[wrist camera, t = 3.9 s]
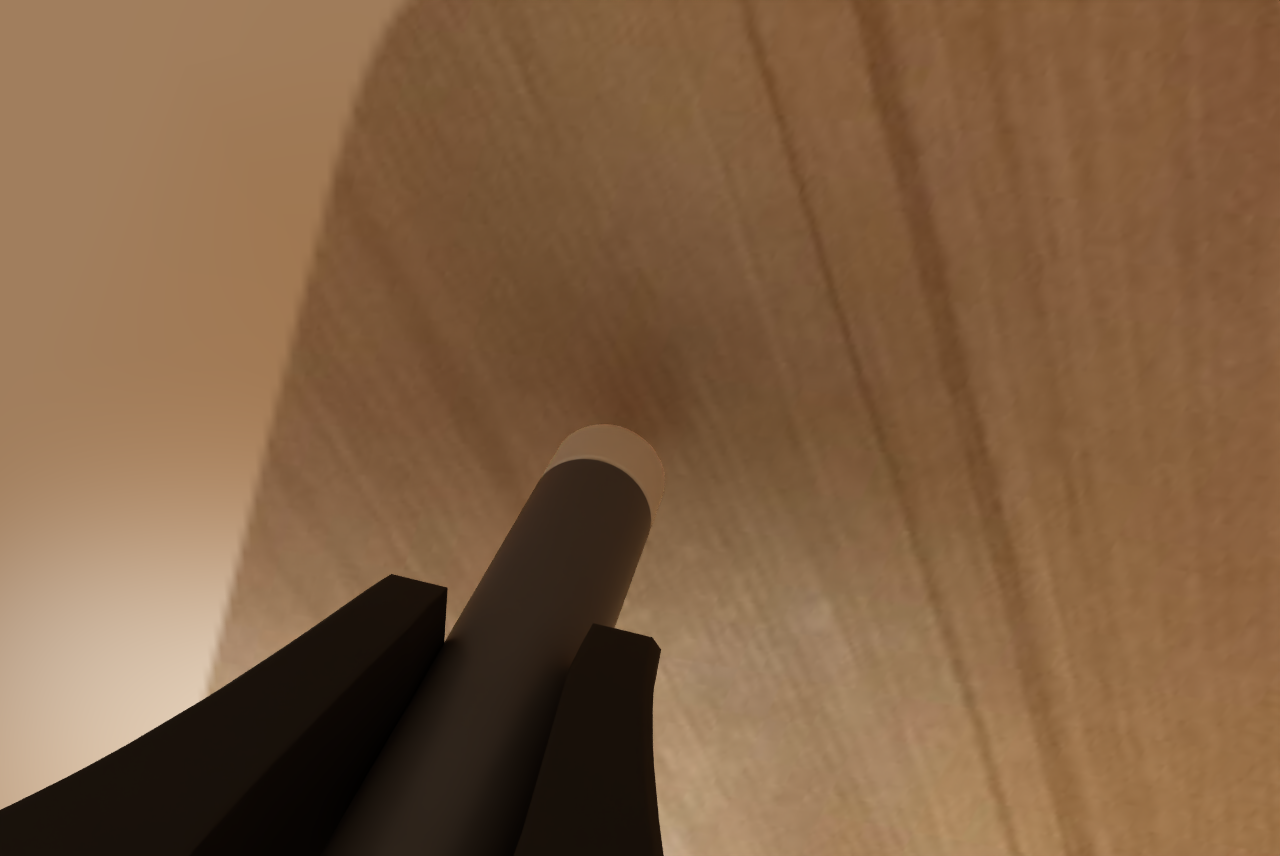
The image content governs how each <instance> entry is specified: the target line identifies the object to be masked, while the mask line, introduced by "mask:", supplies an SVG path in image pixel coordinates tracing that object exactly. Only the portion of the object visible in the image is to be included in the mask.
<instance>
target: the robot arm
mask: <svg viewBox="0 0 1280 856" xmlns="http://www.w3.org/2000/svg"><path fill="white" fill-rule="evenodd" d="M446 604H447V587H443V586H439V585H434V584H430V583H426V582H422V581H418V580H414V579H410V578H406V577H402V576H397V575H393V574H391V575H389V576H387V577H386V578H384V579H382V580H381V581H379V582H378V583H376V584H375V585H373V586H372V587H370V588H369V589H367V590H366V591H364V592H363V593H362V594H360V595H359V596H357V597H356V598H354V599H353V600H351V601H350V602H349V603H347V604H346V605H344V606H343V607H341V608H340V609H339V610H337V611H336V612H334V613H333V614H331V615H330V616H329V617H327V618H326V619H324V620H323V621H321V622H320V623H319V624H317V625H316V626H314V627H313V628H311V629H310V630H308V631H307V632H305V633H304V634H302V635H301V636H300V637H298V638H297V639H295V640H294V641H292V642H291V643H289V644H288V645H286V646H285V647H284V648H282V649H281V650H279V651H277V652H276V653H274V654H273V655H271V656H270V657H268V658H267V659H265V660H264V661H262V662H261V663H259V664H258V665H256V666H255V667H253V668H252V669H250V670H248V671H247V672H245V673H244V674H242V675H241V676H239V677H238V678H236V679H235V680H233V681H232V682H230V683H229V684H227V685H226V686H224V687H222V688H221V689H219V690H218V691H216V692H215V693H213V694H211V695H210V696H208V697H207V698H205V699H203V700H202V701H200V702H198V703H197V704H195V705H193V706H192V707H190V708H188V709H187V710H185V711H183V712H182V713H180V714H178V715H176V716H175V717H173V718H172V719H170V720H168V721H166V722H165V723H163V724H161V725H160V726H158V727H156V728H154V729H153V730H151V731H150V732H148V733H146V734H144V735H143V736H141V737H139V738H138V739H136V740H134V741H133V742H131V743H129V744H127V745H126V746H124V747H122V748H120V749H119V750H117V751H115V752H113V753H111V754H109V755H107V756H106V757H104V758H102V759H100V760H98V761H96V762H95V763H93V764H91V765H89V766H87V767H86V768H83V769H82V770H80V771H78V772H76V773H74V774H72V775H70V776H68V777H67V778H64V779H62V780H60V781H58V782H56V783H54V784H53V785H50V786H48V787H46V788H44V789H42V790H40V791H39V792H36V793H34V794H32V795H30V796H28V797H26V798H24V799H22V800H20V801H18V802H16V803H14V804H12V805H10V806H8V807H5V808H3V809H1V810H0V856H320V855H321V853H322V851H323V849H324V848H325V846H326V844H327V843H328V841H329V839H330V837H331V836H332V834H333V832H334V831H335V829H336V827H337V825H338V824H339V822H340V820H341V819H342V817H343V815H344V813H345V812H346V810H347V808H348V807H349V805H350V803H351V801H352V800H353V798H354V796H355V795H356V793H357V791H358V790H359V788H360V786H361V784H362V783H363V781H364V779H365V778H366V776H367V774H368V772H369V771H370V769H371V767H372V766H373V764H374V762H375V760H376V759H377V757H378V755H379V754H380V752H381V750H382V748H383V747H384V745H385V743H386V742H387V740H388V738H389V737H390V735H391V733H392V731H393V730H394V728H395V726H396V725H397V723H398V721H399V719H400V718H401V716H402V714H403V713H404V711H405V709H406V707H407V706H408V704H409V702H410V701H411V699H412V697H413V695H414V694H415V692H416V690H417V689H418V687H419V685H420V684H421V682H422V680H423V678H424V677H425V675H426V673H427V672H428V670H429V668H430V666H431V665H432V663H433V661H434V660H435V658H436V656H437V654H438V653H439V651H440V649H441V648H442V646H443V644H444V637H445V621H446ZM660 653H661V649H660V647H659V646H658V645H657V643H656V642H655V640H654V639H653V638H652V637H648V636H644V635H640V634H636V633H632V632H628V631H624V630H620V629H615V628H611V627H607V626H603V625H599V624H595V623H593V624H592V626H591V628H590V629H589V631H588V633H587V635H586V637H585V638H584V640H583V642H582V644H581V646H580V648H579V650H578V652H577V654H576V656H575V658H574V660H573V662H572V664H571V666H570V668H569V670H568V674H567V677H566V681H565V684H564V687H563V691H562V694H561V698H560V701H559V705H558V708H557V712H556V715H555V719H554V722H553V726H552V729H551V733H550V736H549V739H548V743H547V746H546V750H545V753H544V757H543V760H542V764H541V767H540V771H539V774H538V778H537V781H536V785H535V788H534V792H533V795H532V799H531V802H530V806H529V809H528V813H527V816H526V820H525V823H524V827H523V830H522V833H521V836H520V839H519V842H518V844H517V847H516V850H515V853H514V856H664V855H663V848H662V840H661V832H660V825H659V816H658V805H657V794H656V783H655V772H654V757H653V692H654V685H655V680H656V674H657V669H658V664H659V658H660Z"/></svg>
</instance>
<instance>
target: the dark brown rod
mask: <svg viewBox="0 0 1280 856" xmlns="http://www.w3.org/2000/svg"><path fill="white" fill-rule="evenodd" d="M664 489H665V474H664V469H663V466H662V463H661V461H660V459H659V457H658V455H657V453H656V452H655V450H654V449H653V448H652V447H651V445H650V444H649V443H648V442H647V441H646V440H644V439H643V438H642V437H641V436H639V435H638V434H636V433H634V432H632V431H631V430H628V429H626V428H623V427H620V426H616V425H610V424H597V425H591V426H586V427H583V428H581V429H578V430H577V431H575V432H573V433H572V434H570V435H569V436H568V437H567V438H566V439H565V440H564V441H563V442H562V443H561V444H560V446H559V448H558V449H557V451H556V453H555V454H554V456H553V458H552V460H551V461H550V463H549V465H548V466H547V468H546V470H545V472H544V473H543V475H542V477H541V479H540V480H539V482H538V483H537V485H536V487H535V489H534V490H533V492H532V494H531V495H530V497H529V499H528V501H527V502H526V504H525V506H524V507H523V509H522V511H521V513H520V514H519V516H518V518H517V519H516V521H515V523H514V525H513V526H512V528H511V530H510V531H509V533H508V535H507V536H506V538H505V540H504V542H503V543H502V545H501V547H500V548H499V550H498V552H497V554H496V555H495V557H494V559H493V560H492V562H491V564H490V566H489V567H488V569H487V571H486V572H485V574H484V576H483V578H482V579H481V581H480V583H479V584H478V586H477V588H476V589H475V591H474V593H473V595H472V596H471V598H470V600H469V601H468V603H467V605H466V607H465V608H464V610H463V612H462V613H461V615H460V617H459V619H458V620H457V622H456V624H455V625H454V627H453V629H452V631H451V632H450V634H449V636H448V637H447V639H446V641H445V642H444V644H443V646H442V648H441V649H440V651H439V653H438V654H437V656H436V658H435V660H434V661H433V663H432V665H431V666H430V668H429V670H428V672H427V673H426V675H425V677H424V678H423V680H422V682H421V684H420V685H419V687H418V689H417V690H416V692H415V694H414V695H413V697H412V699H411V701H410V702H409V704H408V706H407V707H406V709H405V711H404V713H403V714H402V716H401V718H400V719H399V721H398V723H397V725H396V726H395V728H394V730H393V731H392V733H391V735H390V737H389V738H388V740H387V742H386V743H385V745H384V747H383V748H382V750H381V752H380V754H379V755H378V757H377V759H376V760H375V762H374V764H373V766H372V767H371V769H370V771H369V772H368V774H367V776H366V778H365V779H364V781H363V783H362V784H361V786H360V788H359V790H358V791H357V793H356V795H355V796H354V798H353V800H352V801H351V803H350V805H349V807H348V808H347V810H346V812H345V813H344V815H343V817H342V819H341V820H340V822H339V824H338V825H337V827H336V829H335V831H334V832H333V834H332V836H331V837H330V839H329V841H328V843H327V844H326V846H325V848H324V849H323V851H322V853H321V855H320V856H514V853H515V850H516V847H517V844H518V842H519V839H520V836H521V833H522V830H523V827H524V823H525V820H526V816H527V813H528V809H529V806H530V802H531V799H532V795H533V792H534V788H535V785H536V781H537V778H538V774H539V771H540V767H541V764H542V760H543V757H544V753H545V750H546V746H547V743H548V739H549V736H550V733H551V729H552V726H553V722H554V719H555V715H556V712H557V708H558V705H559V701H560V698H561V694H562V691H563V687H564V684H565V681H566V677H567V674H568V670H569V668H570V666H571V664H572V662H573V660H574V658H575V656H576V654H577V652H578V650H579V648H580V646H581V644H582V642H583V640H584V638H585V637H586V635H587V633H588V631H589V629H590V628H591V626H592V624H593V623H595V624H599V625H603V626H607V627H611V628H615V625H616V622H617V620H618V617H619V614H620V611H621V609H622V606H623V603H624V600H625V598H626V595H627V592H628V589H629V587H630V584H631V581H632V578H633V576H634V573H635V570H636V567H637V565H638V562H639V559H640V556H641V554H642V551H643V548H644V546H645V543H646V540H647V537H648V535H649V531H650V529H651V526H652V524H653V521H654V518H655V515H656V513H657V510H658V507H659V504H660V502H661V499H662V496H663V493H664Z"/></svg>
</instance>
